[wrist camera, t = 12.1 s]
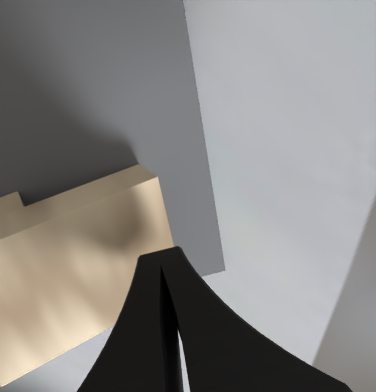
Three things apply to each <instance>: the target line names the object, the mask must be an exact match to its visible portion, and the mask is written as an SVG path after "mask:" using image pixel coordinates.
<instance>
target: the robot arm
mask: <svg viewBox="0 0 376 392" xmlns="http://www.w3.org/2000/svg"><path fill="white" fill-rule="evenodd" d="M177 327H178V328H177ZM178 331H179V334H180V337H181V340H182V344H183V350H184V356H185V362H186V368H187V374H188V380H189V386H190V392H352V390H351V389H350V388H349V387H348V386H347V385H346V384H345V383H343V382H341V381H339V380H337V379H335V378H333V377H331V376H329V375H327V374H325V373H323V372H322V371H320V370H318V369H316V368H314V367H313V366H311V365H309V364H307V363H306V362H304V361H302V360H301V359H299V358H297V357H296V356H294V355H292V354H291V353H289V352H287V351H286V350H284V349H283V348H282V347H280V346H279V345H277V344H276V343H274V342H273V341H271V340H270V339H268V338H267V337H265V336H264V335H263V334H261V333H260V332H258V331H257V330H256V329H255V328H253V327H252V326H251V325H249V324H248V323H247V322H246V321H244V320H243V319H242V318H241V317H240V316H239V315H237V314H236V313H235V312H234V311H233V310H232V309H231V308H230V307H229V306H227V305H226V304H225V303H224V302H223V301H222V300H221V299H220V298H219V297H218V296H217V295H216V294H215V293H214V291H213V290H212V289H211V288H210V287H209V286H208V285H207V284H206V282H205V281H204V280H203V279H202V278H201V277H200V275H199V274H198V273H197V272H196V270H195V269H194V268H193V266H192V265H191V263H190V262H189V260H188V259H187V257H186V256H185V254H184V252H183V249H182V248H181V247H179V246H175V247H171V248H167V249H163V250H159V251H155V252H151V253H147V254H143V255H140V256H139V257H138V259H137V264H136V268H135V272H134V276H133V279H132V282H131V286H130V288H129V291H128V294H127V297H126V299H125V302H124V305H123V307H122V310H121V312H120V314H119V316H118V319H117V321H116V323H115V326H114V328H113V330H112V332H111V334H110V336H109V338H108V340H107V342H106V344H105V346H104V348H103V349H102V351H101V353H100V355H99V357H98V358H97V360H96V362H95V364H94V365H93V367H92V368H91V370H90V372H89V373H88V375H87V377H86V378H85V380H84V381H83V383H82V384H81V386H80V388H79V389H78V391H77V392H184V391H183V380H182V369H181V359H180V348H179V338H178Z"/></svg>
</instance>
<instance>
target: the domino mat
mask: <svg viewBox="0 0 376 392" xmlns="http://www.w3.org/2000/svg"><path fill="white" fill-rule="evenodd" d="M137 164H140V165H141V166H143V167H144V168H146V169H147V170H149V171H150V172H152V173H153V174H155V175H156V176H157V177H158V180H159V184H160V188H161V193H162V197H163V201H164V206H165V210H166V214H167V219H168V223H169V227H170V232H171V236H172V240H173V245H174V247H175V246H179V247H181V248H182V249H183V252H184V254H185V256H186V257H187V259H188V260H189V262H190V263H191V265H192V266H193V268H194V269H195V270H196V272H197V273H198V274H199V275H200V277H202V276H205V275H209V274H213V273H217V272H221V271H225V265H224V259H223V252H222V246H221V240H220V233H219V227H218V220H217V214H216V208H215V201H214V195H213V189H212V182H211V176H210V170H209V163H208V157H207V151H206V144H205V138H204V132H203V125H202V119H201V113H200V106H199V100H198V93H197V87H196V81H195V74H194V68H193V62H192V55H191V49H190V43H189V36H188V30H187V24H186V17H185V11H184V5H183V0H0V197H3V196H6V195H9V194H11V193H14V192H17V191H18V193H19V195H20V197H21V199H22V202H23V204H24V206H25V207H26V206H28V205H31V204H34V203H36V202H39V201H42V200H44V199H47V198H50V197H52V196H55V195H58V194H60V193H63V192H66V191H68V190H71V189H74V188H76V187H79V186H82V185H84V184H87V183H90V182H92V181H95V180H98V179H100V178H103V177H106V176H108V175H111V174H114V173H116V172H119V171H121V170H124V169H127V168H129V167H132V166H135V165H137Z"/></svg>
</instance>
